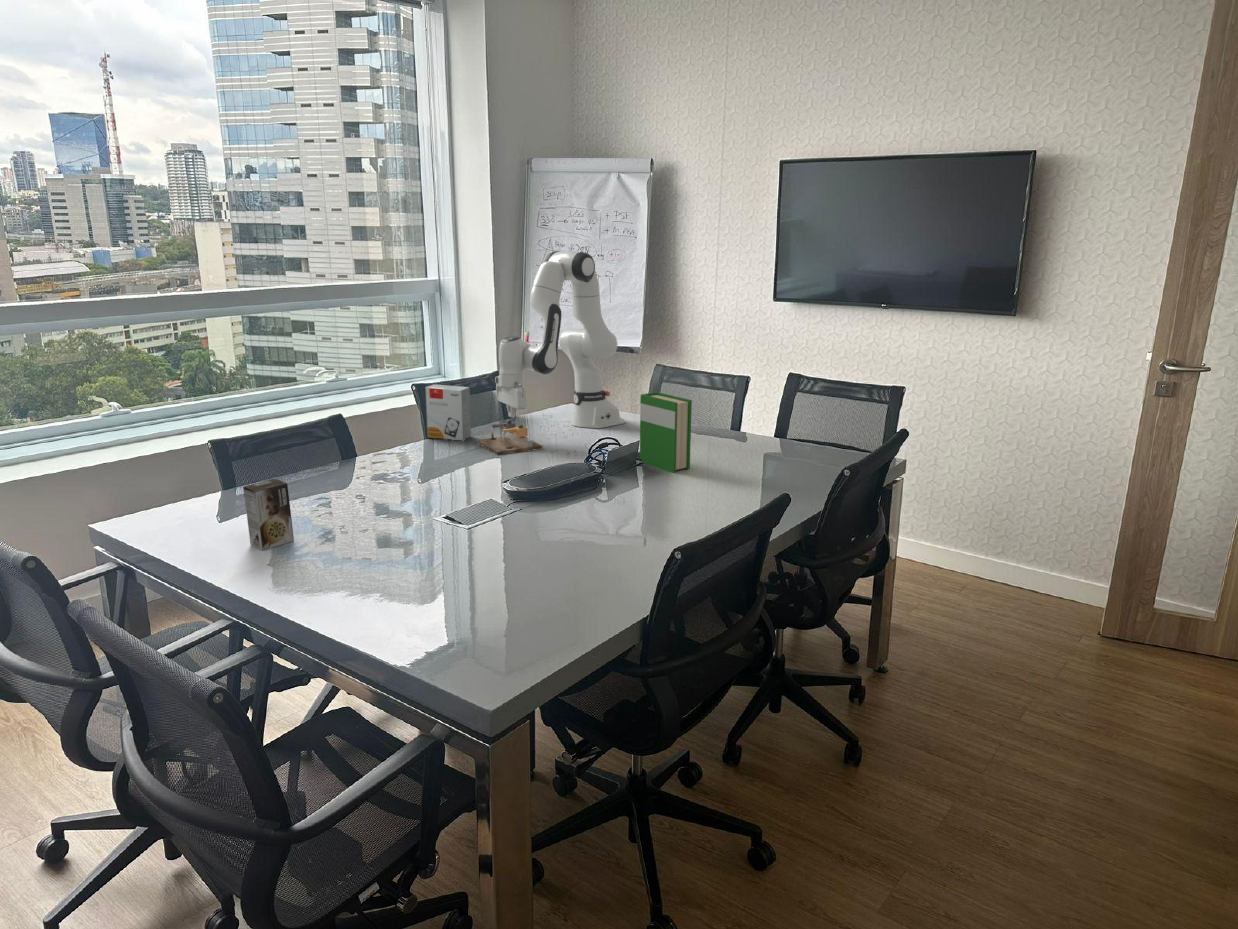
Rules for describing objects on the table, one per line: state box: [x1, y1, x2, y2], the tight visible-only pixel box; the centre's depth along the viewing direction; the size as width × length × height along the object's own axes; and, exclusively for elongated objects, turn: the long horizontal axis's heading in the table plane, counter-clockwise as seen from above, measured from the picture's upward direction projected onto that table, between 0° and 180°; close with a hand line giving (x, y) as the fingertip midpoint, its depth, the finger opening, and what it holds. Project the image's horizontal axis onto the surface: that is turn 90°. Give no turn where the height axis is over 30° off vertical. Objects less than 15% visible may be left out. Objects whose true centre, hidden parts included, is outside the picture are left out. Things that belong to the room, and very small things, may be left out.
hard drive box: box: [424, 383, 472, 442], centre depth 333 cm, size 16×8×20 cm, turn 73°
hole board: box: [475, 435, 543, 456], centre depth 323 cm, size 18×20×1 cm
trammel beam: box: [490, 419, 533, 447], centre depth 323 cm, size 9×19×6 cm, turn 30°
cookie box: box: [243, 478, 295, 552], centre depth 223 cm, size 9×6×16 cm
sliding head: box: [501, 424, 529, 443], centre depth 321 cm, size 9×4×6 cm, turn 120°
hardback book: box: [639, 391, 693, 474], centre depth 295 cm, size 18×7×24 cm, turn 39°
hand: (511, 417), depth 326 cm, fingers closed
